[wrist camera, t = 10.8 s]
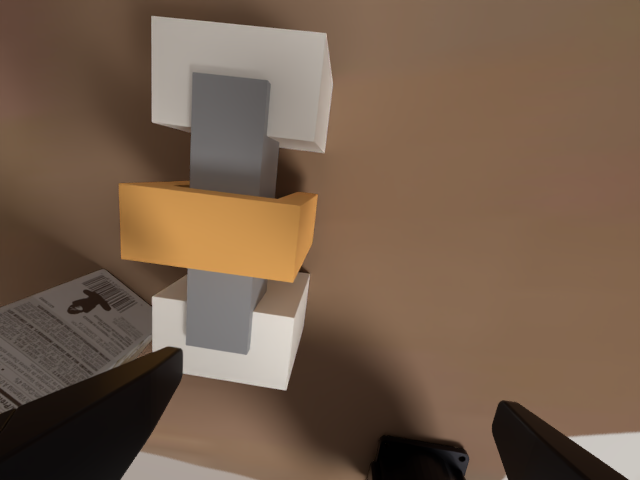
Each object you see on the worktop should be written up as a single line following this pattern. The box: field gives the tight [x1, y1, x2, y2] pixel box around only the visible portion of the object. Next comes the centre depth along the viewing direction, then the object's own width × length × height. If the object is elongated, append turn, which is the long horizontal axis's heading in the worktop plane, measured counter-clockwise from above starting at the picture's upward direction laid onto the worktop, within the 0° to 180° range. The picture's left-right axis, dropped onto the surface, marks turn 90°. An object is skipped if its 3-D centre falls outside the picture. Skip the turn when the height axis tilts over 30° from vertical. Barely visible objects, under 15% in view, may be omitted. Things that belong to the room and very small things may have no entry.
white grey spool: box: [151, 16, 333, 390], centre depth 16 cm, size 16×7×7 cm, turn 173°
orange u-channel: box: [119, 181, 318, 283], centre depth 15 cm, size 7×3×7 cm, turn 83°
